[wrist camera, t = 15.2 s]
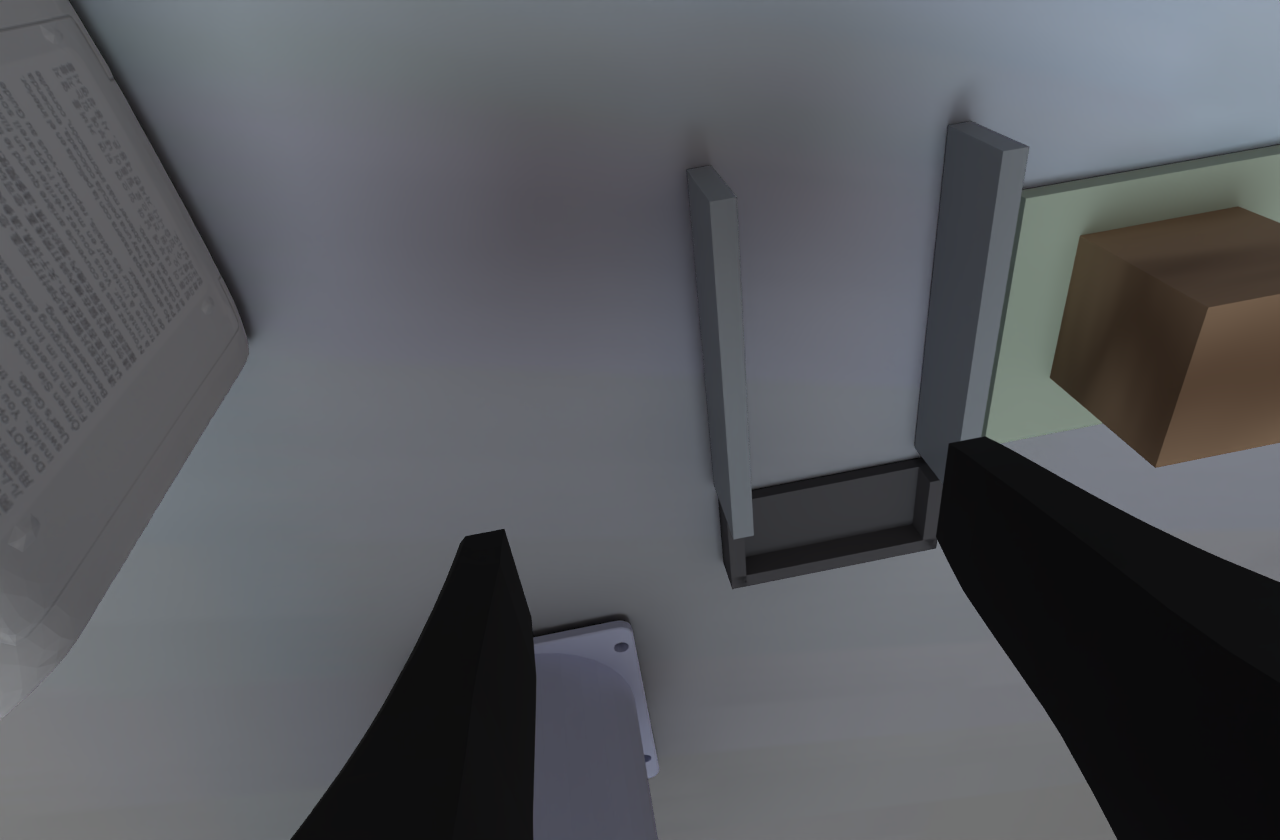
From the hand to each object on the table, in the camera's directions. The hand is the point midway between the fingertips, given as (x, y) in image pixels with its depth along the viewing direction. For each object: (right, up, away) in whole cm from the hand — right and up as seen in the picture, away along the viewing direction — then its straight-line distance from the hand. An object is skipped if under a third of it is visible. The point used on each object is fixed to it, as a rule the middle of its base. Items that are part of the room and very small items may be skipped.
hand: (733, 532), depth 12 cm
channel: (+4, +4, +9) cm, 11 cm away
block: (+13, +5, +9) cm, 17 cm away
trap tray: (+5, -1, +13) cm, 14 cm away
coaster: (+13, +5, +10) cm, 17 cm away
